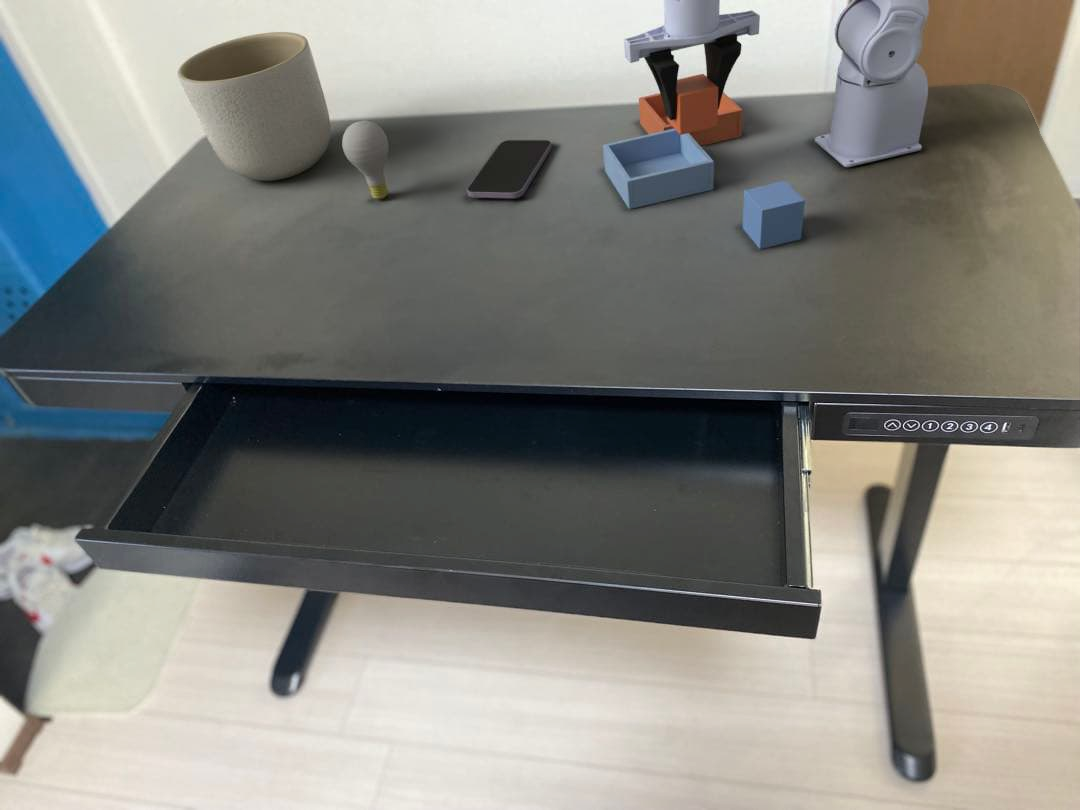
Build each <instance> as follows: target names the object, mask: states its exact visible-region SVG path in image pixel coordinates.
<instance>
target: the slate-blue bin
mask: <svg viewBox="0 0 1080 810" xmlns="http://www.w3.org/2000/svg"><path fill="white" fill-rule="evenodd" d="M602 150H603V162H604V163H603V164H604V172H605V173H606V175H607V177H608V179H609V180H610V182H611V183H612V185H613V186H614V188H615V189H616V191H617V192H618V194H619V196H620V197H621V198H622V200H623V202H624V203H625V205H626V207H627V208H628V210H632V209H635V208H639V207H645V206H648V205H652V204H657V203H662V202H666V201H669V200H674V199H678V198H683V197H688V196H691V195H695V194H699V193H705V192H709V191H712V190H714V189H715V188H714V184H715V183H714V179H715V178H714V177H715V175H714V174H715V173H714V172H715V171H714V170H715V161H714V160H713V159H712V157H711V156H710V155H709V154H708V153H707V152H706V151H705V150H704V148H703V147H702V146H700V145H699V144H698V143H697V142H696V141H695V140H694V139H693V137H692V136H691V135H690V134H689V133H687V134H683V135H680V134H679V133H678V132H677V131H676V130H675V128H674V129H670V130H666V131H661V132H657V133H652V134H648V133H647V134H644V135H639V136H635V137H631V138H626V139H623V140H618V141H614V142H609V143H605V144H602Z"/></svg>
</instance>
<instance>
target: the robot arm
mask: <svg viewBox="0 0 1080 810" xmlns="http://www.w3.org/2000/svg"><path fill="white" fill-rule="evenodd" d="M663 13H664V14H663V19H664V25H661V26H658V27H656V28H653V29H650V30H648V31H645V32H643V33H640V34H637V35H634V36H631V37H628V38H624V39H623V45H624V46H623V47H624V58H625V59H626V60H627V61H628V63H630V64H633V63H636V62H640V59H643V58H644V60H645V62H646V64H647V66H648V68H649V70H650V71H651V74H652V76H653V78H654V80H655V82H656V85H657V88H658V90H659V93H660V94H661V97H662V101H663V105H664V110H665V115H666V116H667V117H668V118H669V119H670V120H675V119H676V115H677V96H676V89H677V80H678V76H679V70H680V64H679V63H678V62H677V61H676V60H675V54H672V52H674V51H680V50H683V49H688V48H691V47H696V46H701V45H703V48H704V56H705V67H706V77H707V78H709V79H710V80H711V81H712V82H713V83H714V84H715V85H716V86H717V87H718V109H719V106H720V102H721V98H722V94H723V92H724V90H725V87H726V85H727V82H728V79H729V77H730V74H731V72H732V69H733V68H734V67H735V64H736V63H737V60H738V59H739V58H740V56H741V53H742V43H741V42H740V41H738V37H740V36H746V35H748V36H755V35H759V34H760V23H761V22H760V19H761V15H760V14H759V13H757V12H755V11H754V10H752V9H751V10H747V11H741V12H733V13H732V12H731V13H722V14H720V0H663ZM929 13H930V6H929V0H851V1H850V2H849V3H848V5H846V7H845V8H844V9H843V10H842V12H841V13H840V14H839V16H838V18H837V20H836V23H835V27H834V39H835V42H836V44H837V47H838V48H839V49H840V51H842V54H841V55H842V56H841V60H840V62H839V64H838V66H837V71H836V72H837V73H836V79H835V88H834V89H835V90H834V99H833V106H832V115H831V124H830V132H829V133H826V134H822V135H817V136H815V137H814V143H816V144H817V145H818V146H820V147H821V148H822V149H823V150H824V151H825V152H827V153H828V154H829V155H830V156H831V157H832V158H834V159H835V160H836V161H837V162H838V163H839V164H840V165H842V166H843V167H844V168H851V167H855V166H860V165H864V164H868V163H873V162H877V161H881V160H885V159H890V158H894V157H898V156H902V155H907V154H911V153H915V152H919V151H922V148H923V145H922V144H920V143H919V142H920V137H921V131H922V127H923V121H924V118H925V117H924V116H925V111H926V106H927V102H928V97H929V84H928V78H927V74H926V72H925V70H924V68H923V67H922V66H921V65H920V64H918V63H917V61H918V59H919V57H920V55H921V51H922V46H923V31H924V26H925V24H926V22H927V19H928V18H929Z"/></svg>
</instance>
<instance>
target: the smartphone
mask: <svg viewBox="0 0 1080 810" xmlns="http://www.w3.org/2000/svg"><path fill="white" fill-rule="evenodd" d="M552 148H553V146H552V142H551V141H550V140H547V139H508V140H504V141H501V142H500V143H499V144H498V146H497V147H496V148H495V150H494V151H493V153H492V154H491V155H490V157H489V158H488V159H487V161H486V162H485V164H484V165H483V166H482V167H481V169H480V170H479V171H478V173H477V174H476V176H475V177H474V178H473V180H472V181H471V183H470V184H469V185H468V186H467V189H466V192H467V196H468V197H470V198H475V199H518V198H521V197H522V196H523V195H524V194H525V192H526V191H527V189H528V187H529V186H530V184H531V182H532V181H533V180H534V178H535V176H536V174H537V173H538V171H539V170H540V169H541V166H542V165H543V163H544V162H545V160H546V159H547V157H548V155H549V154H550V152H551V150H552Z"/></svg>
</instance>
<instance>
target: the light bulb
mask: <svg viewBox="0 0 1080 810" xmlns="http://www.w3.org/2000/svg"><path fill="white" fill-rule="evenodd" d="M341 143H342V144H341V147H342V150H343V153H344V156H345V157H346V158H347V160H348V161H349V162H350V163H351V164H352V165H353V166H354V167H355V168H356V169H357V170H358V171H359V172H360V173H362V175H364V177H365V180H366V183H367V185H368V187H369V189H370V193H371V197H372V198H373V199H376V200H380V201H381V200H384V198H385V197H386V196H387V195H388V193H389V191H388V188H387V184H386V177H385V174H384V168H385V164H386V161H387V157H388V153H389V141H388V137H387V135H386V132H385V131H384V129H382V127H381V126H379V125H378V124H377V123H374V122H373V121H369V120H358V121H356V122H353V123H352V124H350V125H349V126H348V127H346V129H345V131H344V133H343V135H342V141H341Z"/></svg>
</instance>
